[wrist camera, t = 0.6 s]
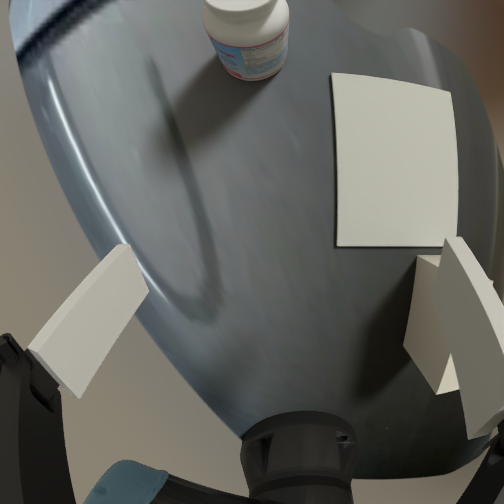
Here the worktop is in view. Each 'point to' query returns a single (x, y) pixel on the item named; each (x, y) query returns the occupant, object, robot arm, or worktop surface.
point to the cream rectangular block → (429, 330)
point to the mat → (394, 162)
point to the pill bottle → (248, 35)
